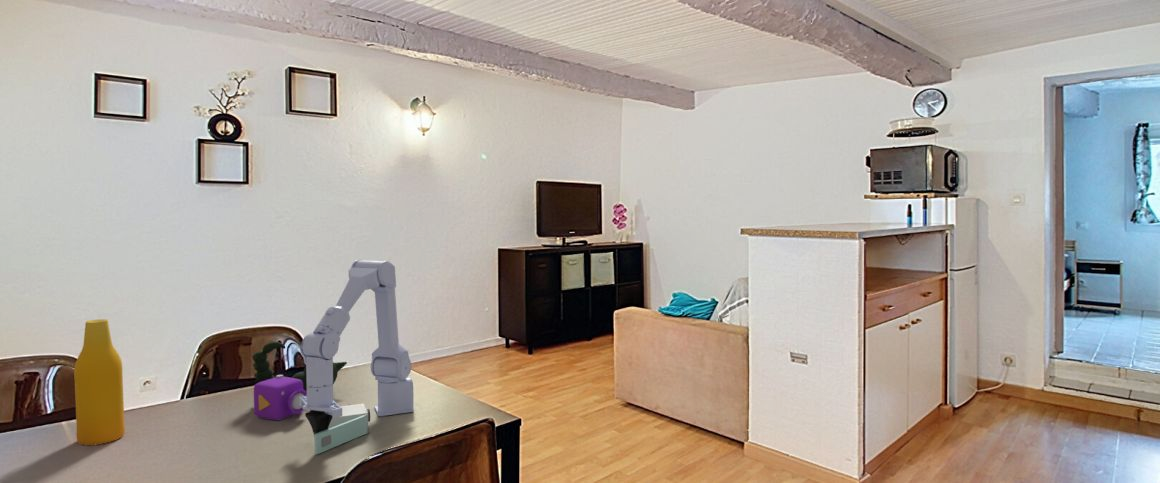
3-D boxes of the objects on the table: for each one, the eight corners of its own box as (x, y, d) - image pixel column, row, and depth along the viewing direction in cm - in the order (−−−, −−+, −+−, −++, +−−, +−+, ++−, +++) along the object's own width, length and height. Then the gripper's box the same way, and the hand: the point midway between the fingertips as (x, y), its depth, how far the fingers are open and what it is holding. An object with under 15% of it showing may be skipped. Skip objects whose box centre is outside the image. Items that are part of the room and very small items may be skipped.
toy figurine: (261, 415, 172) (353, 392, 185) (252, 349, 169) (346, 331, 183) (257, 405, 179) (346, 384, 193) (249, 342, 177) (339, 326, 191)
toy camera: (293, 424, 160) (292, 387, 160) (247, 420, 163) (246, 383, 162) (318, 411, 171) (318, 375, 170) (275, 407, 174) (274, 372, 173)
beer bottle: (84, 434, 152) (79, 318, 150) (129, 429, 155) (125, 316, 153) (70, 448, 143) (65, 325, 141) (119, 443, 147) (114, 323, 145)
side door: (366, 432, 155) (366, 413, 155) (369, 433, 155) (369, 414, 154) (314, 454, 142) (314, 433, 141) (318, 455, 141) (317, 434, 141)
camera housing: (368, 421, 163) (367, 399, 163) (372, 431, 156) (372, 409, 156) (323, 427, 159) (322, 405, 158) (325, 438, 151) (325, 415, 151)
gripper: (286, 382, 144) (287, 438, 145) (322, 394, 136) (322, 454, 137) (314, 375, 150) (315, 430, 151) (350, 386, 142) (350, 444, 143)
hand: (320, 440), depth 144 cm, fingers closed
